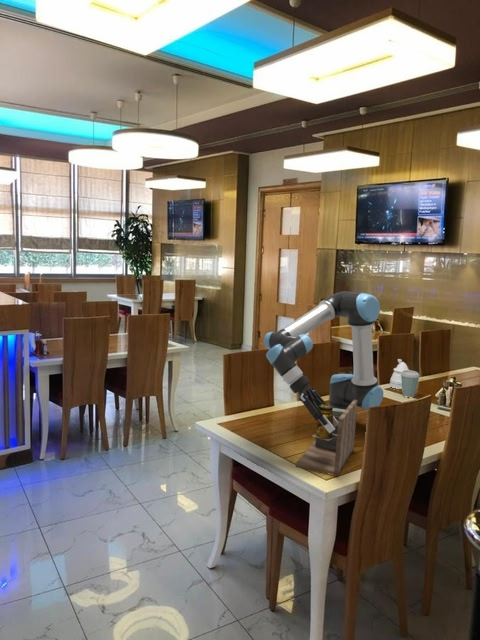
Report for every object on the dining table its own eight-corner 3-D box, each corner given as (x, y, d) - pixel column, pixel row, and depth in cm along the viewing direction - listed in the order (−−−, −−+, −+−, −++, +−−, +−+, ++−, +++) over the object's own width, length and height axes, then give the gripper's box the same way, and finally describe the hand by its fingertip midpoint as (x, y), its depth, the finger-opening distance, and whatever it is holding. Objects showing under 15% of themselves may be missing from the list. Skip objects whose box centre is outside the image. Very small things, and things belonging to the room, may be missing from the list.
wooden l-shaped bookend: (315, 442, 212) (319, 393, 209) (353, 450, 206) (357, 400, 203) (295, 466, 187) (299, 411, 184) (337, 476, 180) (342, 419, 177)
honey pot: (391, 389, 306) (393, 361, 303) (388, 384, 318) (391, 357, 316) (412, 391, 304) (415, 363, 301) (409, 386, 316) (412, 358, 314)
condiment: (311, 436, 190) (313, 406, 188) (322, 430, 196) (324, 401, 195) (328, 441, 185) (330, 410, 184) (338, 435, 192) (341, 405, 190)
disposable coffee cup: (420, 399, 286) (422, 374, 284) (401, 398, 286) (404, 373, 284) (414, 394, 297) (416, 370, 295) (396, 393, 297) (398, 369, 295)
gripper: (296, 380, 202) (332, 426, 198) (281, 391, 185) (320, 441, 181) (310, 369, 200) (347, 416, 195) (295, 379, 182) (336, 430, 178)
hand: (334, 428), depth 188 cm, fingers closed on condiment, 6 cm apart
